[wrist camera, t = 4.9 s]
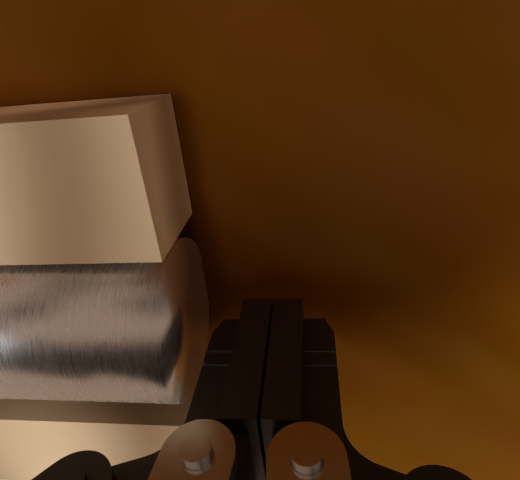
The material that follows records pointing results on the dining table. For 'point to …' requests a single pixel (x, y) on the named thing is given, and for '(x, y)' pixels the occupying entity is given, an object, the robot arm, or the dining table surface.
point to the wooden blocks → (88, 248)
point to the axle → (105, 329)
